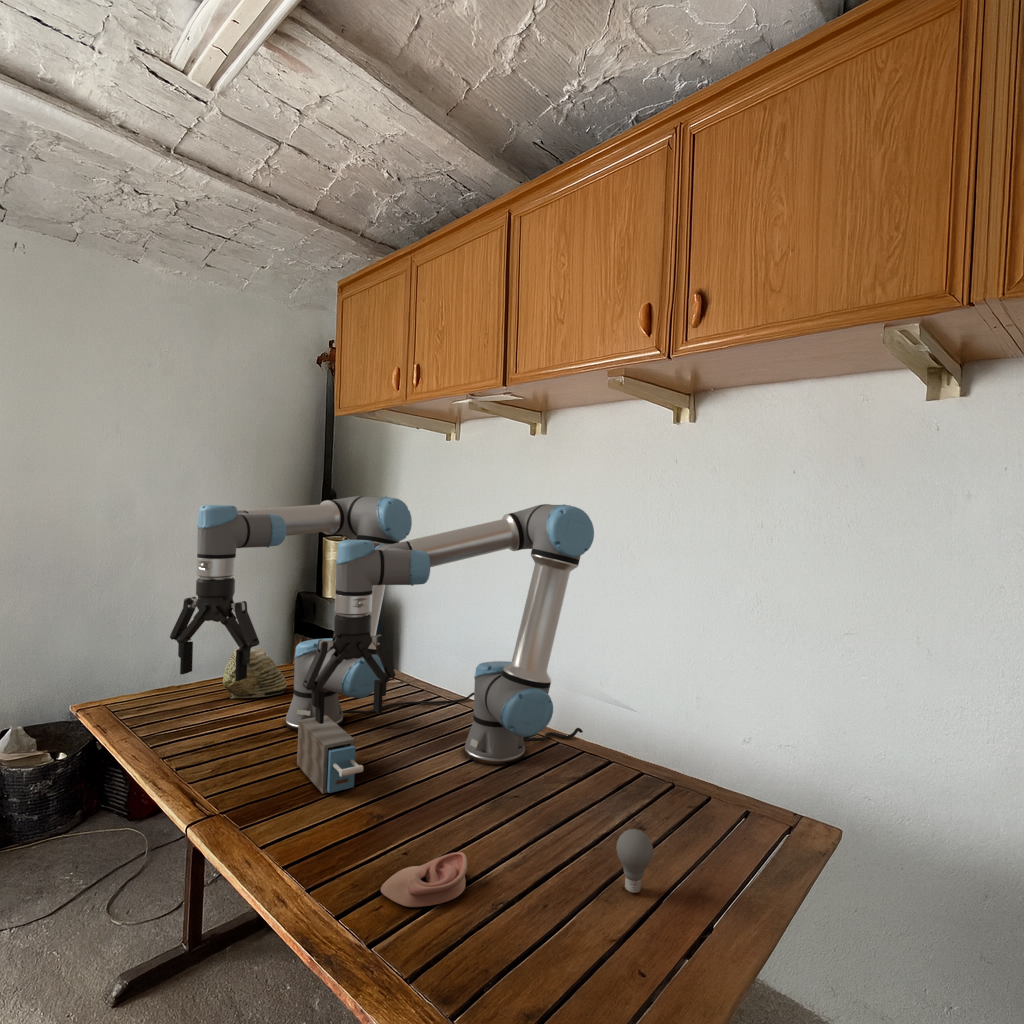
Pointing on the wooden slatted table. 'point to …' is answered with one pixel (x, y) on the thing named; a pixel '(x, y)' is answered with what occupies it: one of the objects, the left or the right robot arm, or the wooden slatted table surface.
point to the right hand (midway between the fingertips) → (349, 716)
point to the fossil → (254, 677)
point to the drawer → (341, 768)
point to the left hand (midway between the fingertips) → (213, 676)
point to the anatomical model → (428, 882)
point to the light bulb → (634, 857)
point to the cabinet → (318, 748)
